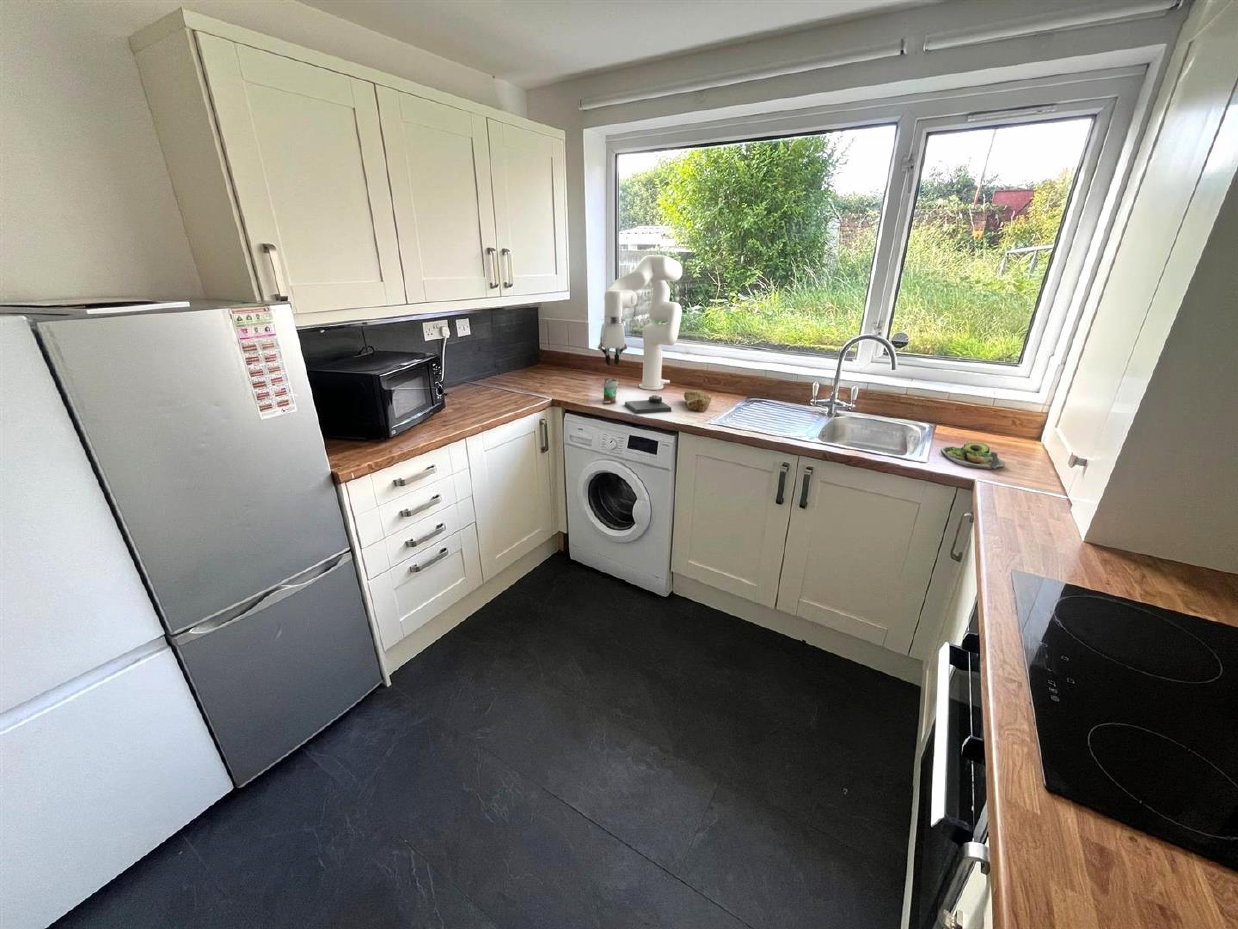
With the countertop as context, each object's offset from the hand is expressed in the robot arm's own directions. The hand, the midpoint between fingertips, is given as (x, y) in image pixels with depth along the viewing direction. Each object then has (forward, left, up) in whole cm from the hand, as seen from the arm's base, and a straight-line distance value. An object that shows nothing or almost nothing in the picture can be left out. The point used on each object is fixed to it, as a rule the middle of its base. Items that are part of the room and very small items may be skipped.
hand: (612, 363), depth 218 cm
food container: (0, 0, -17) cm, 17 cm away
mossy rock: (-35, +15, -17) cm, 42 cm away
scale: (-12, +14, -17) cm, 25 cm away
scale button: (-17, +9, -14) cm, 24 cm away
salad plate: (-94, +100, -17) cm, 138 cm away
